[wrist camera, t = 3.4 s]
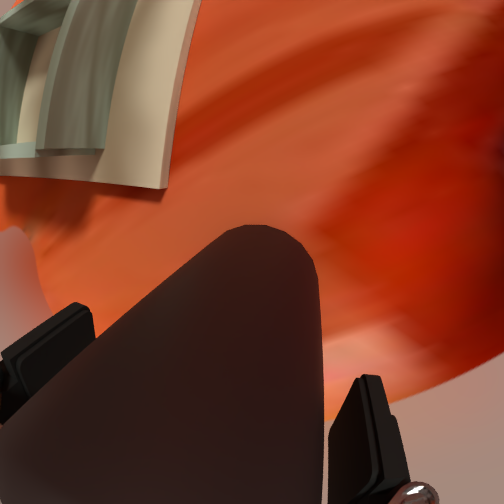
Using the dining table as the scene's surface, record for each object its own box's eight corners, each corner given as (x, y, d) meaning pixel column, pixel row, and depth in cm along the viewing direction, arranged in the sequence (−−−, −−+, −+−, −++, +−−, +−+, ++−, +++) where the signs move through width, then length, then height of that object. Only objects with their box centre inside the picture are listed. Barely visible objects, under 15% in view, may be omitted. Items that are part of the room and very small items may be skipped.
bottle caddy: (209, -27, 11) (174, -79, 6) (167, 187, 16) (102, 200, 10) (25, 30, 14) (-17, 21, 8) (-1, 174, 19) (-49, 182, 13)
